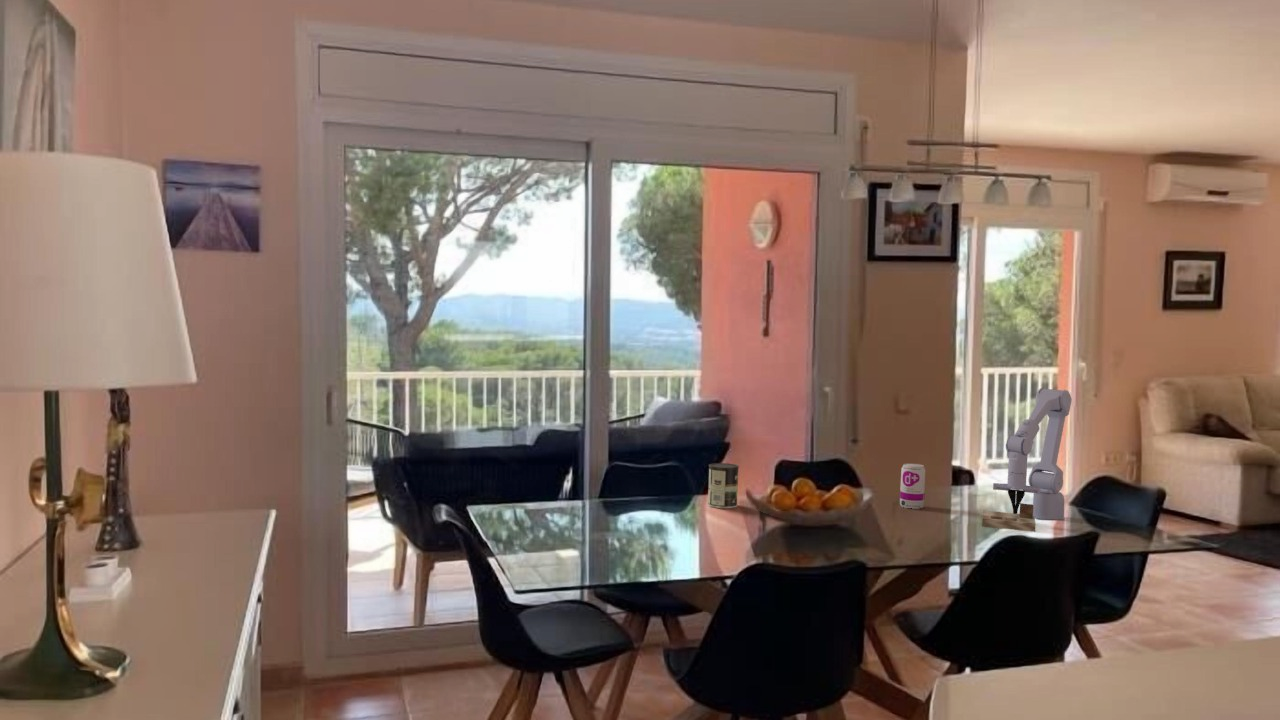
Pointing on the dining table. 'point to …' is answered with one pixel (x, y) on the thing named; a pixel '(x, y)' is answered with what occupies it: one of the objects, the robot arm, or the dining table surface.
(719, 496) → the coffee can
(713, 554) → the dining table surface
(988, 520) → the wooden board
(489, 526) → the dining table surface
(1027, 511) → the walnut block
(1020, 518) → the pad
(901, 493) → the supplement can
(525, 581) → the dining table surface
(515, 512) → the dining table surface
